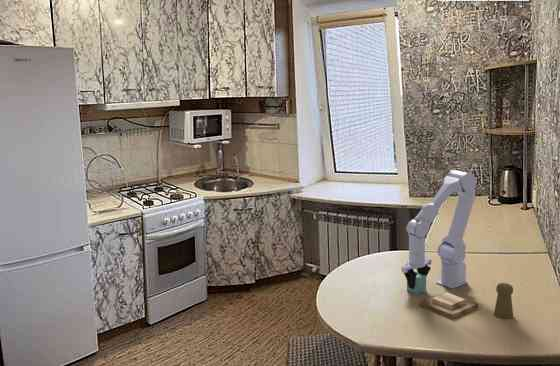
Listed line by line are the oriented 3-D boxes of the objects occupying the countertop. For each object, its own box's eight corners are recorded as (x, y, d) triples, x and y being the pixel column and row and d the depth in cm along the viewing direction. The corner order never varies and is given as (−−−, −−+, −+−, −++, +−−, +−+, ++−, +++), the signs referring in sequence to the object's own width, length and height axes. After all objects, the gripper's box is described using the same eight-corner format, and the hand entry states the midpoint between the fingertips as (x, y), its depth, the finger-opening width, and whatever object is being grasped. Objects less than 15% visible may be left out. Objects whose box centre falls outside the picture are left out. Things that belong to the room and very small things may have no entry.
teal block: (415, 286, 208) (415, 271, 207) (426, 290, 204) (426, 275, 203) (406, 290, 205) (406, 275, 204) (417, 293, 201) (417, 278, 200)
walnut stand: (444, 295, 199) (445, 287, 198) (478, 307, 188) (478, 299, 187) (419, 305, 191) (419, 297, 191) (452, 318, 180) (452, 310, 179)
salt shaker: (501, 320, 177) (503, 288, 175) (489, 313, 183) (491, 282, 181) (517, 317, 179) (518, 286, 177) (505, 310, 185) (506, 280, 183)
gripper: (421, 245, 209) (420, 278, 212) (395, 253, 201) (395, 287, 204) (436, 249, 204) (435, 283, 206) (409, 258, 195) (409, 293, 198)
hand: (416, 286), depth 204 cm, fingers closed on teal block, 5 cm apart
